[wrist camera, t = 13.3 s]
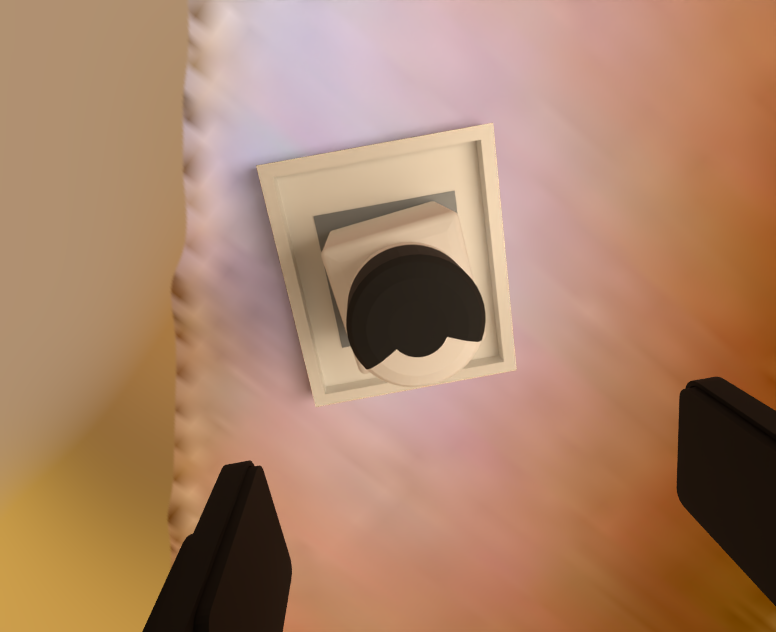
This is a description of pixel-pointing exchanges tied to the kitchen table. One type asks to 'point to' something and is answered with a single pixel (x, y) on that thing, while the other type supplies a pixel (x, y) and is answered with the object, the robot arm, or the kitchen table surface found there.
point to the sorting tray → (374, 199)
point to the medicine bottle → (407, 294)
